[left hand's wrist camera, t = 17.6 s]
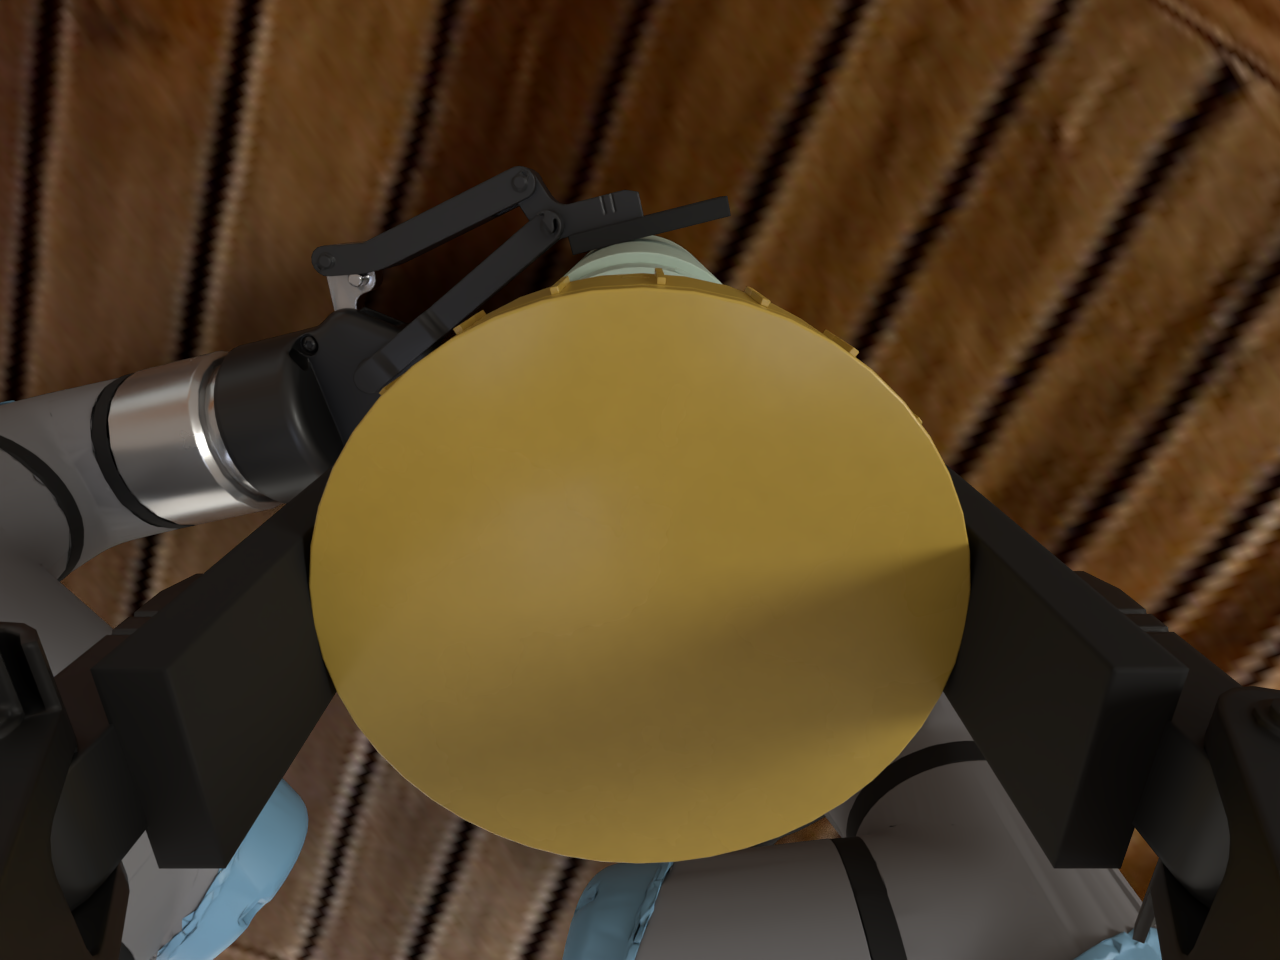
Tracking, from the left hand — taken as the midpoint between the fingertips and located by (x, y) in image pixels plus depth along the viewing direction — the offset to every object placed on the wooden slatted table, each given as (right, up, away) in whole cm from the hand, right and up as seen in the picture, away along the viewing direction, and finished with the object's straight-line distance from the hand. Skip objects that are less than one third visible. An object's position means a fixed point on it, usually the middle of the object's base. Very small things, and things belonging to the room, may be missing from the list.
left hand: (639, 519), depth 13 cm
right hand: (+4, +8, +17) cm, 19 cm away
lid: (0, -1, -3) cm, 3 cm away
